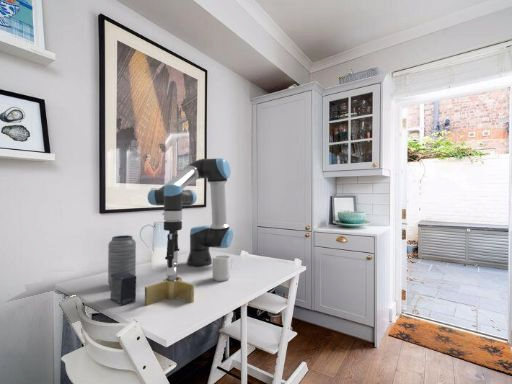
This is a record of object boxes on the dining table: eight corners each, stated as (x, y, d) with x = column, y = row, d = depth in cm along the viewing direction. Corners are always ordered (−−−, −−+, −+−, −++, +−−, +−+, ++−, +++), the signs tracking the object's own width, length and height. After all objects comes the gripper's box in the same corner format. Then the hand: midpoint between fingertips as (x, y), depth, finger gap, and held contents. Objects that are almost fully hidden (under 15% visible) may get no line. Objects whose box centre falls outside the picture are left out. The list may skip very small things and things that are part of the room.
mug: (220, 283, 132) (220, 260, 132) (208, 279, 138) (209, 257, 138) (237, 277, 141) (237, 256, 141) (226, 273, 147) (226, 253, 147)
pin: (168, 293, 117) (167, 261, 117) (177, 293, 118) (177, 261, 117) (166, 297, 113) (166, 264, 113) (176, 296, 114) (176, 263, 113)
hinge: (151, 293, 117) (151, 277, 117) (195, 291, 121) (195, 275, 121) (144, 305, 105) (144, 287, 105) (193, 302, 108) (193, 285, 108)
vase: (105, 284, 128) (105, 236, 128) (131, 279, 136) (131, 234, 136) (111, 291, 119) (111, 239, 120) (138, 285, 127) (139, 237, 127)
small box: (137, 301, 109) (137, 275, 109) (120, 306, 104) (120, 279, 104) (126, 294, 116) (126, 270, 116) (109, 299, 111) (110, 273, 111)
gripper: (167, 218, 127) (167, 263, 127) (158, 224, 103) (158, 279, 103) (184, 217, 129) (184, 262, 128) (179, 223, 104) (178, 278, 104)
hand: (172, 270), depth 115 cm, fingers open, 13 cm apart
